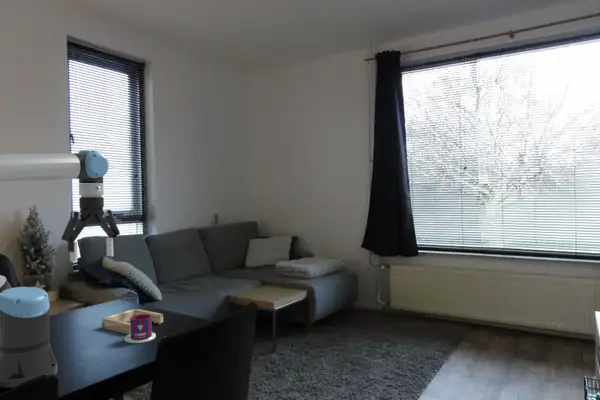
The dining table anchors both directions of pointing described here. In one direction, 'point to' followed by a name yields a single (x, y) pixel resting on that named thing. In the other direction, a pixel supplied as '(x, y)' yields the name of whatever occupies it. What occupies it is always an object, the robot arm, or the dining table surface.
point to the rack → (120, 320)
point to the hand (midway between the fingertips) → (92, 258)
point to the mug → (141, 326)
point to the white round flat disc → (129, 340)
